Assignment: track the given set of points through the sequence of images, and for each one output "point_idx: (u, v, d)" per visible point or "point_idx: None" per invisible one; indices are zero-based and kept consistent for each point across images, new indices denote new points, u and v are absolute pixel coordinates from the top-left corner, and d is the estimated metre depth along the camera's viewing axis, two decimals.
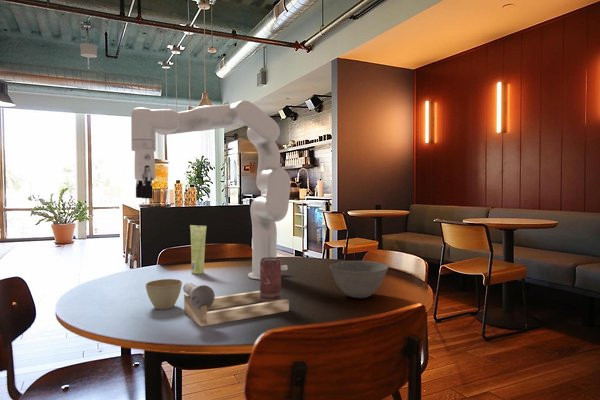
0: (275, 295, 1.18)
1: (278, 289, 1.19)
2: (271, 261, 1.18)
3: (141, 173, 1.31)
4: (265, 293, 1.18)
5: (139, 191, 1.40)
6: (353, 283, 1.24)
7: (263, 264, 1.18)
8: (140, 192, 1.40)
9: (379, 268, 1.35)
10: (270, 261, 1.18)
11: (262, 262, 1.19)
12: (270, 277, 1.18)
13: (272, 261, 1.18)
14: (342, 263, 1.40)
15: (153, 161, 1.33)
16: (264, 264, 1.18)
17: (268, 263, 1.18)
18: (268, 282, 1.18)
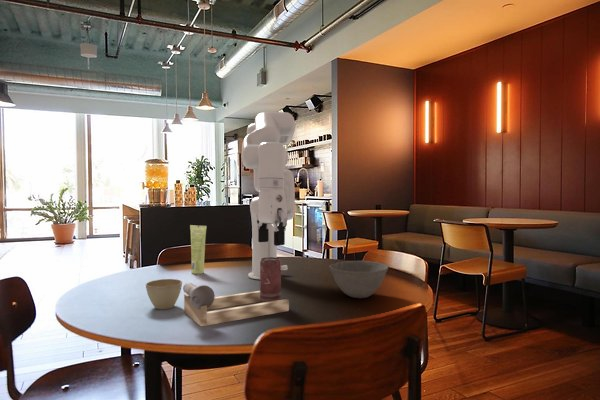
0: (275, 295, 1.18)
1: (278, 289, 1.19)
2: (271, 261, 1.18)
3: (274, 217, 1.15)
4: (265, 293, 1.18)
5: (262, 235, 1.23)
6: (353, 283, 1.24)
7: (263, 264, 1.18)
8: (263, 236, 1.24)
9: (379, 268, 1.35)
10: (270, 261, 1.18)
11: (262, 262, 1.19)
12: (270, 277, 1.18)
13: (272, 261, 1.18)
14: (342, 263, 1.40)
15: (285, 202, 1.17)
16: (264, 264, 1.18)
17: (268, 263, 1.18)
18: (268, 282, 1.18)
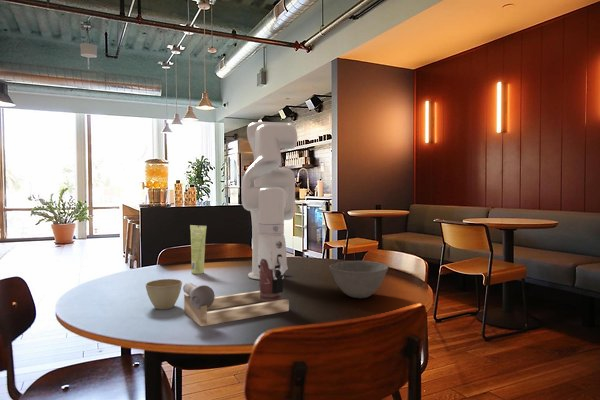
0: (275, 295, 1.18)
1: None
2: None
3: (273, 263, 1.15)
4: (265, 293, 1.18)
5: None
6: (353, 283, 1.24)
7: (263, 264, 1.18)
8: None
9: (379, 268, 1.35)
10: None
11: (262, 262, 1.19)
12: (270, 277, 1.18)
13: None
14: (342, 263, 1.40)
15: (285, 248, 1.17)
16: (264, 264, 1.18)
17: None
18: (268, 282, 1.18)
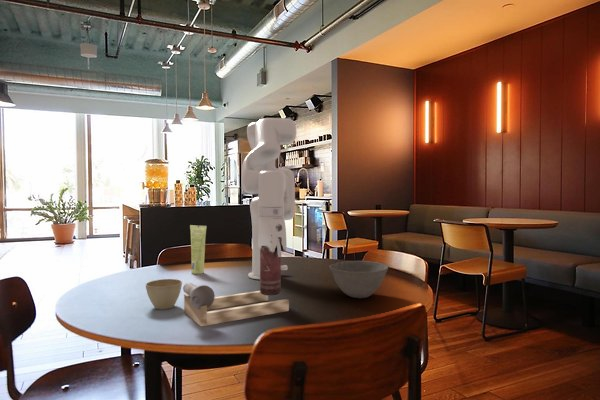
0: (275, 282, 1.19)
1: (278, 276, 1.19)
2: None
3: (273, 246, 1.16)
4: (265, 281, 1.18)
5: None
6: (353, 283, 1.24)
7: (263, 252, 1.18)
8: None
9: (379, 268, 1.35)
10: None
11: (262, 250, 1.19)
12: (270, 264, 1.18)
13: None
14: (342, 263, 1.40)
15: (285, 231, 1.18)
16: (264, 252, 1.18)
17: (268, 251, 1.18)
18: (268, 269, 1.18)
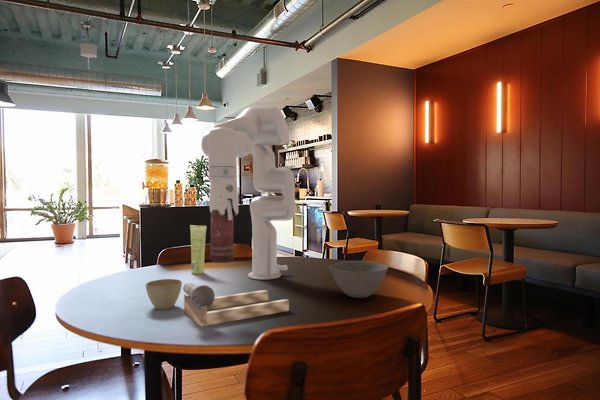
0: (226, 249, 1.09)
1: (230, 242, 1.10)
2: None
3: (223, 208, 1.07)
4: (215, 247, 1.09)
5: None
6: (353, 283, 1.24)
7: (213, 215, 1.09)
8: None
9: (379, 268, 1.35)
10: None
11: (212, 213, 1.10)
12: (220, 228, 1.09)
13: None
14: (342, 263, 1.40)
15: (236, 193, 1.09)
16: (214, 215, 1.09)
17: (218, 213, 1.09)
18: (218, 234, 1.09)
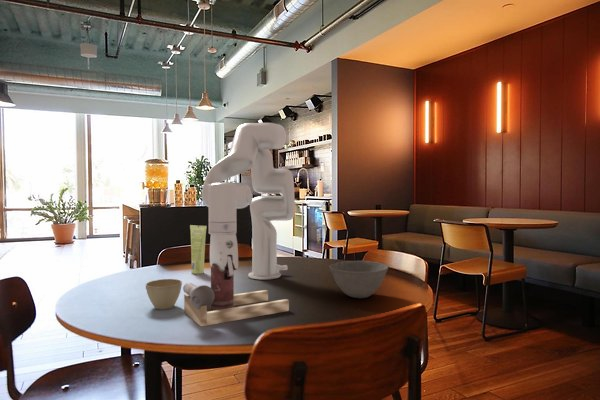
0: (226, 303, 1.10)
1: (230, 296, 1.11)
2: None
3: (223, 264, 1.07)
4: (215, 301, 1.10)
5: None
6: (353, 283, 1.24)
7: (213, 270, 1.10)
8: None
9: (379, 268, 1.35)
10: None
11: (212, 267, 1.10)
12: (220, 283, 1.09)
13: None
14: (342, 263, 1.40)
15: (236, 248, 1.09)
16: (214, 270, 1.10)
17: (218, 268, 1.09)
18: (218, 289, 1.09)
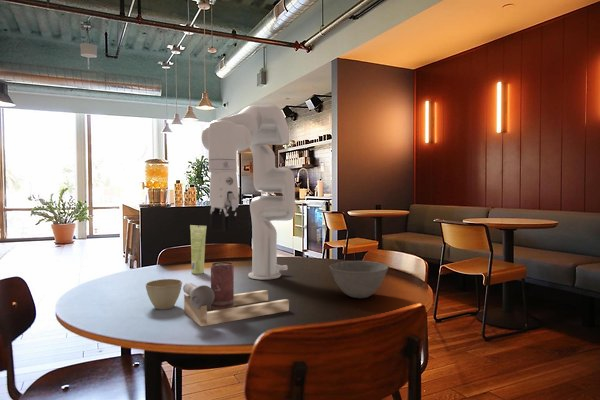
0: (226, 303, 1.10)
1: (230, 296, 1.11)
2: (222, 266, 1.09)
3: (223, 201, 1.07)
4: (215, 301, 1.10)
5: (215, 220, 1.16)
6: (353, 283, 1.24)
7: (213, 270, 1.10)
8: (216, 221, 1.16)
9: (379, 268, 1.35)
10: (221, 266, 1.09)
11: (212, 267, 1.10)
12: (220, 283, 1.09)
13: (223, 266, 1.09)
14: (342, 263, 1.40)
15: (236, 186, 1.09)
16: (214, 270, 1.10)
17: (218, 268, 1.09)
18: (218, 289, 1.09)
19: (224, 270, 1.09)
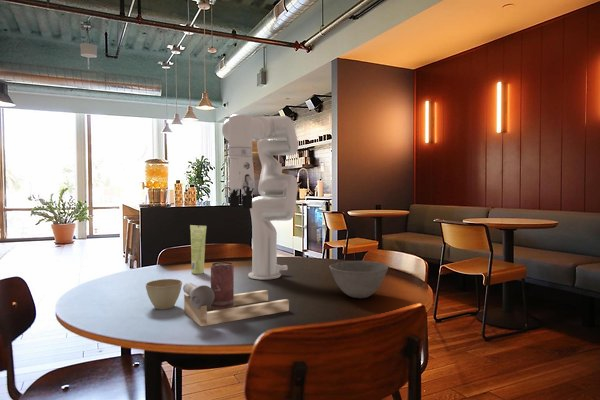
0: (226, 303, 1.10)
1: (230, 296, 1.11)
2: (222, 266, 1.09)
3: (241, 182, 1.26)
4: (215, 301, 1.10)
5: (233, 200, 1.35)
6: (353, 283, 1.24)
7: (213, 270, 1.10)
8: (234, 201, 1.35)
9: (379, 268, 1.35)
10: (221, 266, 1.09)
11: (212, 267, 1.10)
12: (220, 283, 1.09)
13: (223, 266, 1.09)
14: (342, 263, 1.40)
15: (252, 170, 1.28)
16: (214, 270, 1.10)
17: (218, 268, 1.09)
18: (218, 289, 1.09)
19: (224, 270, 1.09)
